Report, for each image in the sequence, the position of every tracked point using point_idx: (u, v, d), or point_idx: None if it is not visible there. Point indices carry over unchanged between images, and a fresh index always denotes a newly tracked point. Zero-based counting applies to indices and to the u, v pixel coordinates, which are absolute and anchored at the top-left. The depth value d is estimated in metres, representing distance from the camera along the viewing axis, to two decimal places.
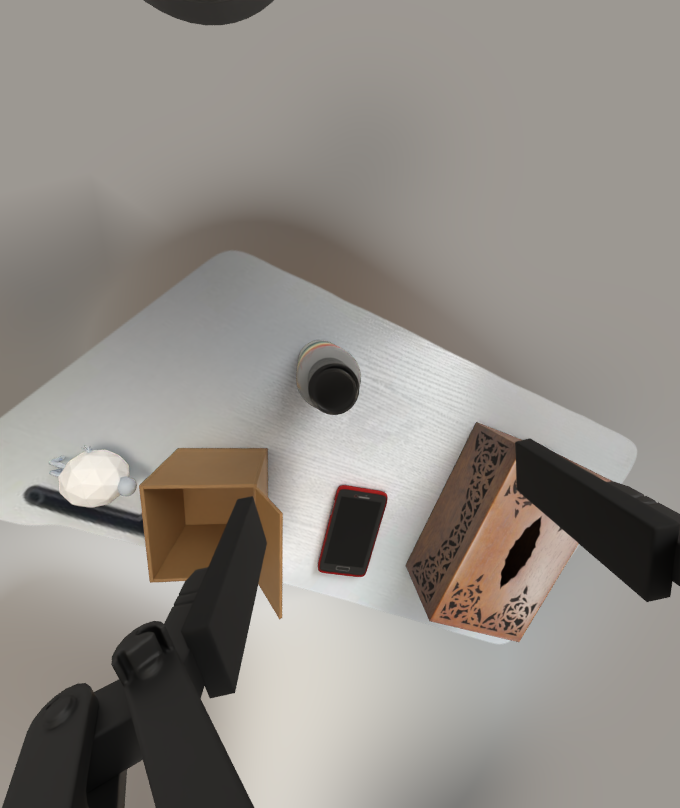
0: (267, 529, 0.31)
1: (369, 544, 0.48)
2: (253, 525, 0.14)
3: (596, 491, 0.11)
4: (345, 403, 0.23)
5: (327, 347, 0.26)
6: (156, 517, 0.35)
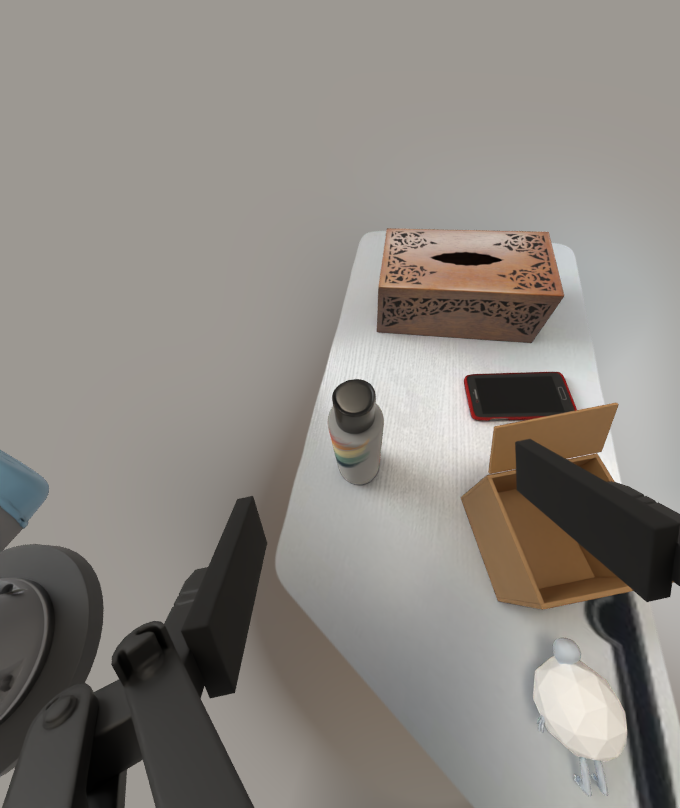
0: None
1: (522, 376, 0.48)
2: (253, 525, 0.14)
3: (596, 491, 0.11)
4: (362, 384, 0.28)
5: (329, 426, 0.31)
6: (582, 591, 0.29)
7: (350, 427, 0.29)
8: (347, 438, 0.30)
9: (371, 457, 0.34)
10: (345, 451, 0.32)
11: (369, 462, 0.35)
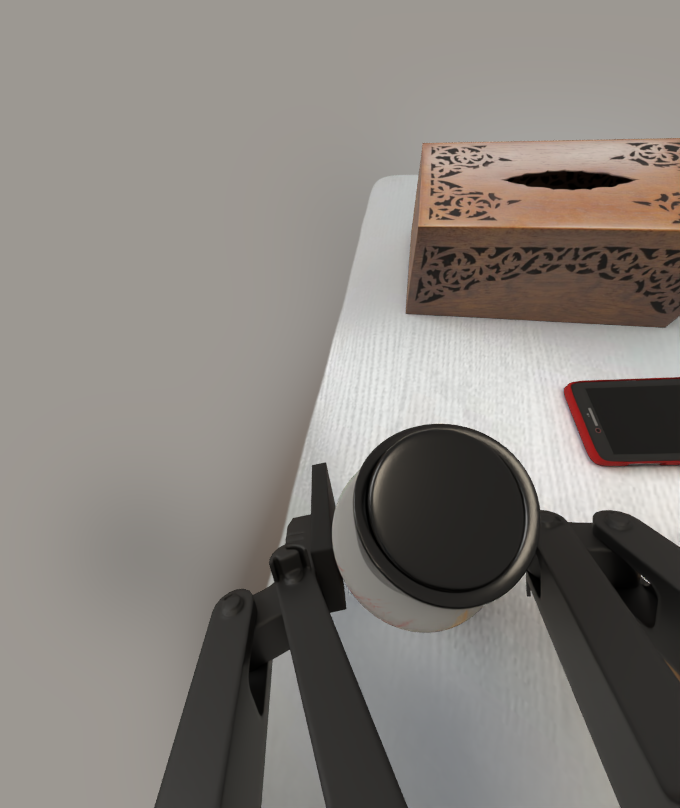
0: None
1: (671, 385, 0.27)
2: (329, 486, 0.16)
3: None
4: (475, 452, 0.07)
5: (336, 555, 0.10)
6: None
7: None
8: (396, 606, 0.09)
9: None
10: None
11: None
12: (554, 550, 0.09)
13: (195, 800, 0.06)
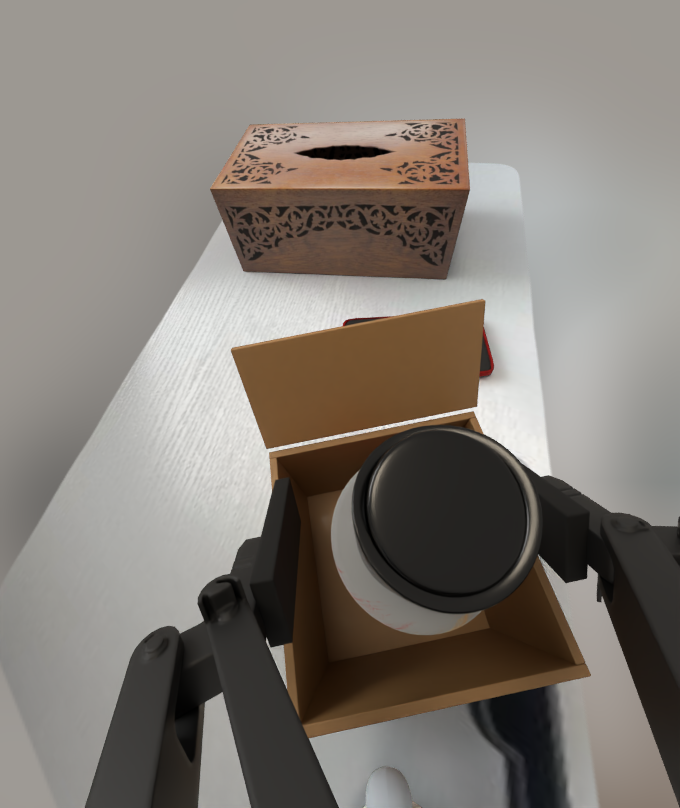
0: (312, 389, 0.15)
1: None
2: (291, 503, 0.15)
3: None
4: (476, 453, 0.07)
5: (335, 556, 0.10)
6: (410, 684, 0.14)
7: None
8: (396, 608, 0.09)
9: None
10: None
11: None
12: (633, 554, 0.08)
13: None
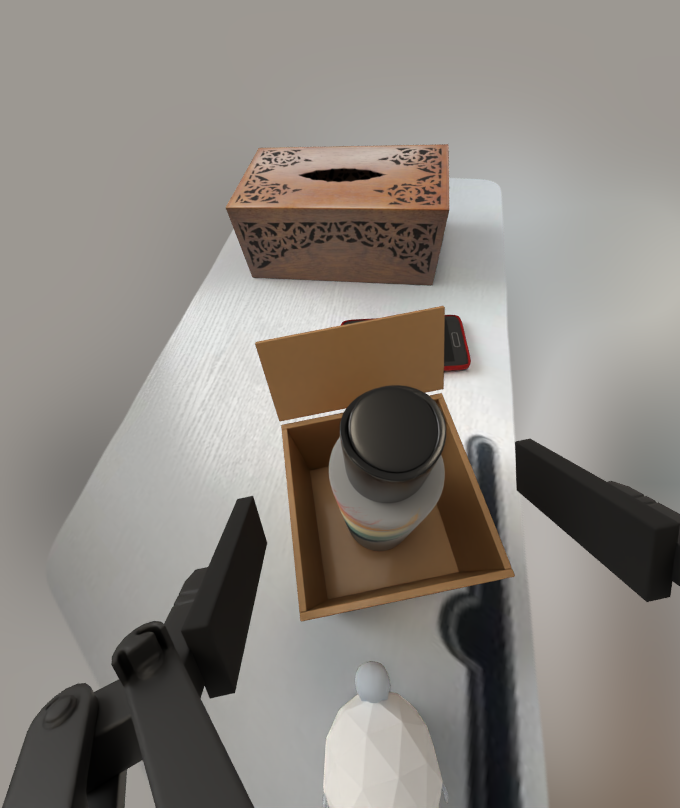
0: (315, 373, 0.20)
1: None
2: (253, 525, 0.14)
3: (596, 491, 0.11)
4: (412, 399, 0.11)
5: (331, 482, 0.15)
6: (388, 592, 0.19)
7: (380, 495, 0.13)
8: (371, 511, 0.14)
9: (411, 530, 0.18)
10: (364, 529, 0.16)
11: (405, 535, 0.19)
12: None
13: None
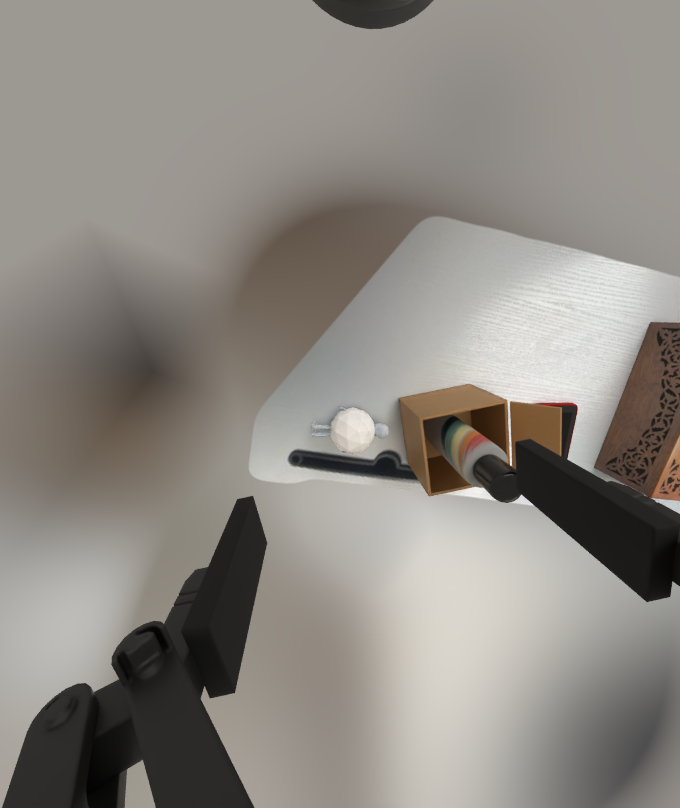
0: (535, 429, 0.39)
1: (564, 452, 0.54)
2: (253, 525, 0.14)
3: (596, 491, 0.11)
4: (517, 494, 0.33)
5: (482, 446, 0.37)
6: None
7: (479, 472, 0.35)
8: (469, 462, 0.37)
9: None
10: (457, 451, 0.39)
11: (444, 456, 0.44)
12: None
13: None
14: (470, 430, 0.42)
